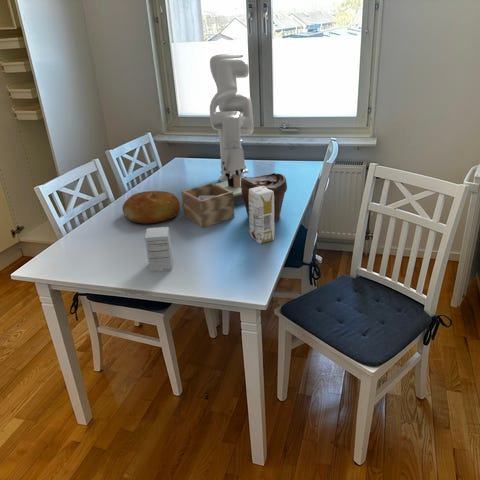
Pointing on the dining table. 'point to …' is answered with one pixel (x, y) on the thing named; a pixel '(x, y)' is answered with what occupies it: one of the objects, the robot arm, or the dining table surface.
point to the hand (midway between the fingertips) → (234, 184)
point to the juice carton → (261, 214)
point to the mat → (238, 199)
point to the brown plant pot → (270, 182)
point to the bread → (151, 207)
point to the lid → (236, 185)
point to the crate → (208, 204)
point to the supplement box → (159, 249)
